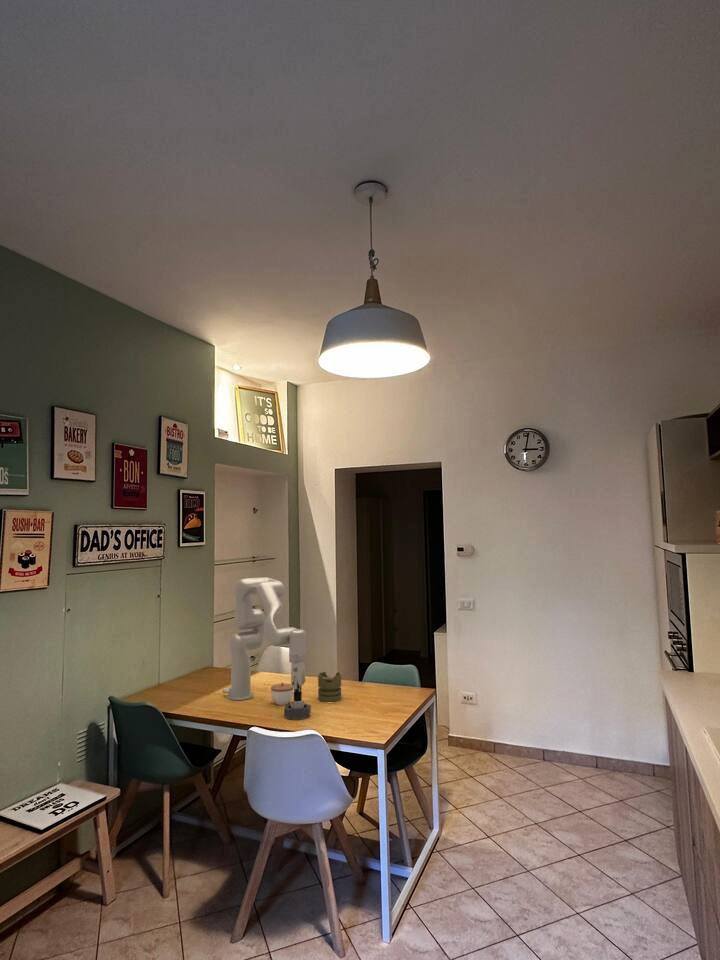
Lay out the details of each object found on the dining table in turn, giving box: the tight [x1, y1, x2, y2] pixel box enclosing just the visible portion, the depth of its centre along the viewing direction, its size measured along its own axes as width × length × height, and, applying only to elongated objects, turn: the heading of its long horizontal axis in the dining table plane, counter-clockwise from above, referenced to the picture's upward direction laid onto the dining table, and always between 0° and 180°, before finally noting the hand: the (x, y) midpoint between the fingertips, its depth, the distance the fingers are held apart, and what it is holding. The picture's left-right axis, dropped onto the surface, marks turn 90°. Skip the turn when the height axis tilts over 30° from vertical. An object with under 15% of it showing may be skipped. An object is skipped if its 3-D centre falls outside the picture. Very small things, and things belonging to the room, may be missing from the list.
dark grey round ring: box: [283, 702, 312, 721], centre depth 243 cm, size 11×11×4 cm
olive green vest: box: [317, 671, 342, 703], centre depth 268 cm, size 11×12×11 cm
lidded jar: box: [270, 682, 294, 706], centre depth 263 cm, size 11×11×9 cm
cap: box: [290, 700, 305, 709], centre depth 243 cm, size 6×6×5 cm
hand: (297, 700), depth 243 cm, fingers closed
